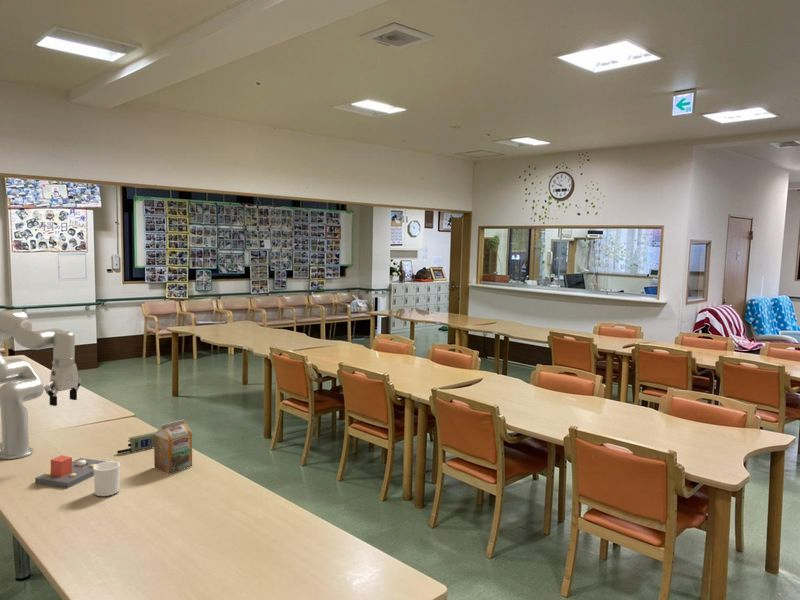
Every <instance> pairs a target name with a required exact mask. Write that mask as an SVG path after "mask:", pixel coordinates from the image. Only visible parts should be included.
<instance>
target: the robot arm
mask: <svg viewBox="0 0 800 600" xmlns="http://www.w3.org/2000/svg"><path fill="white" fill-rule="evenodd" d="M75 336H76V335H75V333H74V332H73V331H65V330H62V329H59V328H48V329H41V330H40V329H39V330H33V324H32V322H31V321H30V320H29V316H28V314H27V313H26V312H25V311H23V310H21V309H13V310H11V309H9V310H3V311H2V310H1V311H0V342H1V341H7V340H9V339H10V338H12V337H13V338H14V340H15V342H16V343H17V344H18V345H19V346H20V347H24V348H26V349H28V350H29V349H30V350H33V351H34V350H35V351H37V350H43V349H49V348H53V350H52V351H53V352H52V354H53V358H52V359H53V360H52V361H51V364H52V367H51V370H50V377H49V379H50V380H49V382H48V383H47V384H46V385H45V386H44V384H43V382H42V380H41V378H40V377H39V375H38V374H37V373H36V372H35V370H34V368H33V367H32V366H31V365H30V363H29V362H28V361H26V360H25V359H22V358H11V359H6V358H5V357H4V356H3V355H2V353H1V352H0V384H3V385H1V386H0V418H1V419H0V421H1V442H0V460H15V459H21V458H25V457H28V456H30V455H32V454H33V453H34V448H32V447H31V446H30V437H29V435H30V434H29V412H28V409H27V407H25V405H24V403H25V402H29V401H32V400H35V399H37V398H40V397H41V396H42V395H43V394H44V390H45V393H46V394H47V396H48V397H49V406H51V407H52V406H53V407H56V406H57V405H58V396H57V394H58V393H59V392H63V391H67V390H69V400H72V401H77V400H78V390H79V388H80V386H81V383H82V380H83V378H81V377H79V375H78V373H79V372H78V367H77V363H75V351H76V349H75V347H76V345H75V343H76V342H75V340H76V339H75Z"/></svg>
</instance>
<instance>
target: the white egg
mask: <svg viewBox="0 0 800 600" xmlns="http://www.w3.org/2000/svg"><path fill="white" fill-rule="evenodd" d="M85 465H86V460H79V461H77V467H83V466H85Z"/></svg>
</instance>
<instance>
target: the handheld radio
mask: <svg viewBox="0 0 800 600" xmlns="http://www.w3.org/2000/svg"><path fill="white" fill-rule="evenodd" d="M155 432H156V431H155ZM155 432H150V433H149V432H148V433H145V434H140V435H139V434H138V435H134V436H130V437H128V440H127V441H128V444H127V446H128V448H125V449H120V450H117V454H123V453H127V452H131V453H135V451H136V452H139V450H141V451H144V450H143V449H145V450H149V449H148V448H150V449H153V448H152V447H154V434H155Z"/></svg>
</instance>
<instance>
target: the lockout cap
mask: <svg viewBox="0 0 800 600" xmlns="http://www.w3.org/2000/svg"><path fill="white" fill-rule="evenodd" d="M72 462H73V457H71V456H65V455H59V456H56V457H55V458H52V459H50V471H51V475H53V476H58V477H63V476H65V475H67V474H69V473H71V472H72Z"/></svg>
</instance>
